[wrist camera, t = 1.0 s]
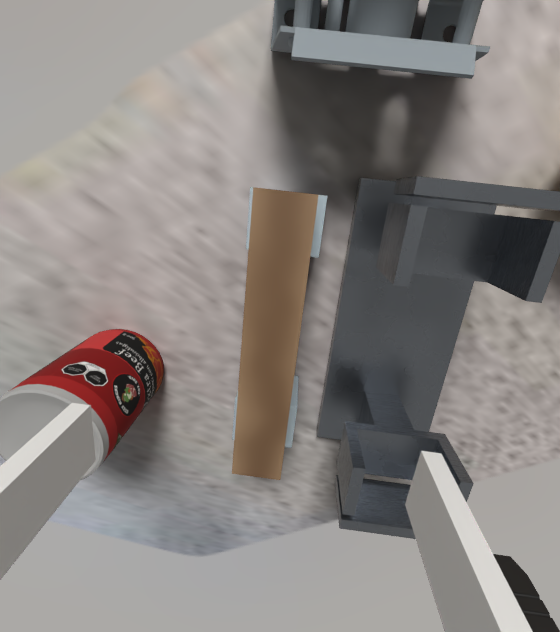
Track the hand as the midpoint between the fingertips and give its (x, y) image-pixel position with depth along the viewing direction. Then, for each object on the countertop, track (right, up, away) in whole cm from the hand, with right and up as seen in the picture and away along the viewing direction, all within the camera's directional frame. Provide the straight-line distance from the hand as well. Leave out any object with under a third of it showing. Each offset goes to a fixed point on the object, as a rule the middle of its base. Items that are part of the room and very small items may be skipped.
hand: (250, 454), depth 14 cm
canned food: (-14, +1, +20) cm, 24 cm away
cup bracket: (+11, +5, +16) cm, 20 cm away
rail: (+1, +4, +12) cm, 13 cm away
